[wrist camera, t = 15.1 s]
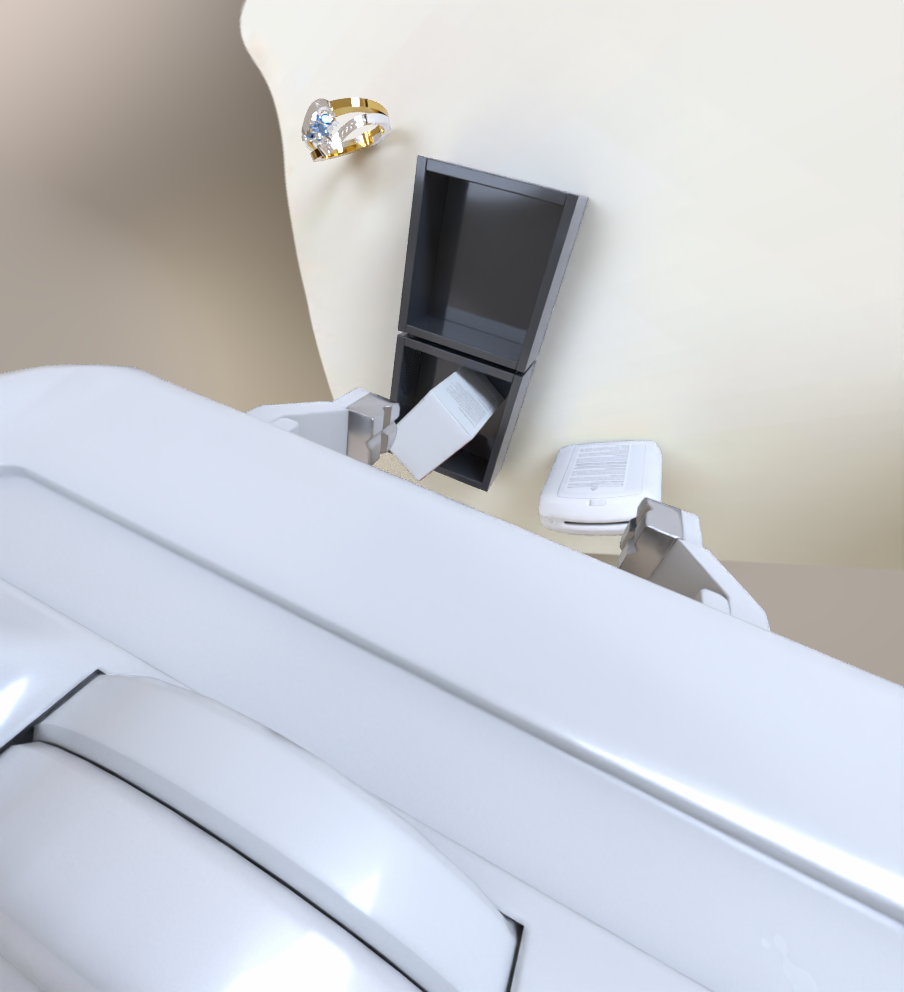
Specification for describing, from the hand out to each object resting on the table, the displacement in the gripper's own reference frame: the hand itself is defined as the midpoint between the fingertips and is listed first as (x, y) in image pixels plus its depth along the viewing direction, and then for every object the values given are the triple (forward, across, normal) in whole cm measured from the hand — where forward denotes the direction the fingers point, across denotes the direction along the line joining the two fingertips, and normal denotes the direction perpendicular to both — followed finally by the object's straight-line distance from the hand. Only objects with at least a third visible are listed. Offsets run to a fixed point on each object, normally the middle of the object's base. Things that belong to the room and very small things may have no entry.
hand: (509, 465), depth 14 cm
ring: (+31, +24, -7) cm, 40 cm away
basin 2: (+31, +10, +13) cm, 35 cm away
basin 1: (+31, +10, 0) cm, 33 cm away
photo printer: (+31, -6, +14) cm, 35 cm away
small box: (+31, +10, +13) cm, 35 cm away
